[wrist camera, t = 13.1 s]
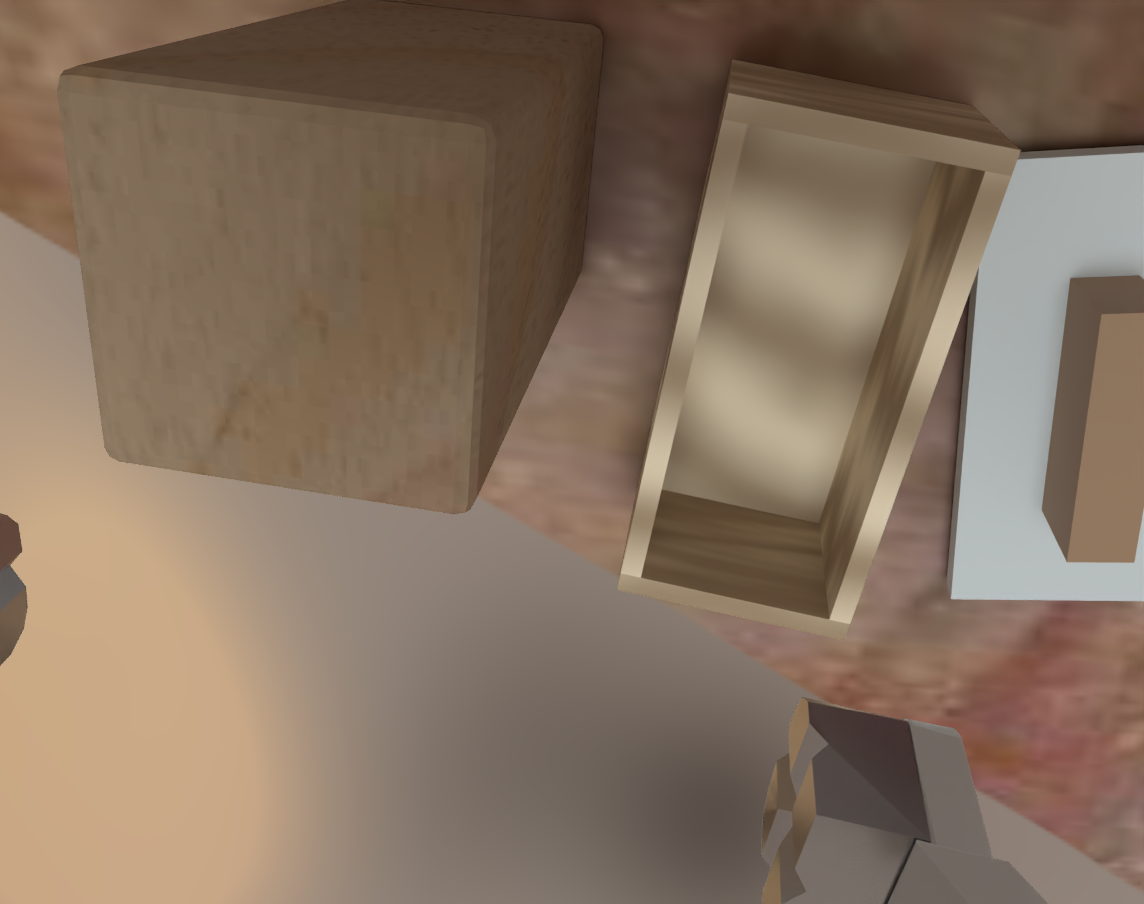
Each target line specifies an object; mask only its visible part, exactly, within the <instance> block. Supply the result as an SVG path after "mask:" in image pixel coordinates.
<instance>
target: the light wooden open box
mask: <svg viewBox="0 0 1144 904" xmlns="http://www.w3.org/2000/svg"><path fill="white" fill-rule="evenodd" d="M1020 151H1021V150H1020V149H1019V148H1018V147H1017V146H1016V145H1015V144H1014V143H1013V142H1011V141H1010V140H1009V139H1008V138H1007V137H1006V136H1005V135H1004V134H1003V133H1002V132H1001V131H999V130H998V129H997V128H996V127H995V126H994V125H993V124H992V123H991V122H990V121H989V120H987V119H986V118H985V117H984V116H983V115H982V114H981V113H980V112H979V111H978V110H977V109H976V108H974V107H973V106H971V105H966V104H961V103H956V102H950V101H945V100H940V99H935V98H930V97H925V96H919V95H914V94H909V93H904V92H899V91H894V90H888V89H883V88H878V87H873V86H868V85H863V84H858V83H852V82H847V81H842V80H837V79H832V78H827V77H821V76H816V75H811V74H806V73H801V72H796V71H791V70H785V69H780V68H775V67H770V66H765V65H760V64H754V63H749V62H744V61H739V60H734V59H732V64H731V68H730V73H729V77H728V82H727V86H726V91H725V95H724V99H723V104H722V108H721V113H720V117H719V122H718V126H717V131H716V135H715V140H714V144H713V149H712V153H711V158H710V162H709V167H708V171H707V176H706V180H705V185H704V189H703V194H702V198H701V203H700V207H699V212H698V216H697V221H696V225H695V229H694V234H693V238H692V243H691V247H690V252H689V256H688V261H687V265H686V270H685V274H684V279H683V283H682V288H681V292H680V297H679V301H678V306H677V310H676V315H675V319H674V324H673V328H672V333H671V337H670V342H669V346H668V351H667V355H666V359H665V364H664V368H663V373H662V377H661V382H660V386H659V391H658V395H657V400H656V404H655V409H654V413H653V418H652V422H651V427H650V431H649V436H648V440H647V445H646V449H645V454H644V458H643V463H642V467H641V472H640V476H639V481H638V485H637V490H636V494H635V500H634V505H633V510H632V515H631V520H630V525H629V530H628V535H627V541H626V546H625V551H624V556H623V561H622V566H621V571H620V576H619V582H618V587H617V590H620V591H625V592H629V593H634V594H638V595H643V596H647V597H652V598H656V599H660V600H665V601H669V602H674V603H678V604H683V605H687V606H692V607H696V608H701V609H705V610H710V611H714V612H719V613H723V614H728V615H732V616H737V617H741V618H746V619H750V620H755V621H759V622H764V623H768V624H772V625H777V626H781V627H786V628H790V629H795V630H799V631H804V632H808V633H813V634H817V635H822V636H826V637H831V638H835V639H840V640H844V639H845V636H846V634H847V631H848V628H849V625H850V623H851V620H852V617H853V614H854V611H855V609H856V606H857V603H858V600H859V598H860V595H861V592H862V589H863V587H864V584H865V581H866V578H867V575H868V573H869V570H870V567H871V564H872V562H873V559H874V556H875V553H876V550H877V548H878V545H879V542H880V539H881V537H882V534H883V531H884V528H885V526H886V523H887V520H888V517H889V514H890V512H891V509H892V506H893V503H894V501H895V498H896V495H897V492H898V490H899V487H900V484H901V481H902V478H903V476H904V473H905V470H906V467H907V465H908V462H909V459H910V456H911V454H912V451H913V448H914V445H915V442H916V440H917V437H918V434H919V431H920V429H921V426H922V423H923V420H924V417H925V415H926V412H927V409H928V406H929V404H930V401H931V398H932V395H933V393H934V390H935V387H936V384H937V381H938V379H939V376H940V373H941V370H942V368H943V365H944V362H945V359H946V357H947V354H948V351H949V348H950V345H951V343H952V340H953V337H954V334H955V332H956V329H957V326H958V323H959V321H960V318H961V315H962V312H963V309H964V307H965V304H966V301H967V298H968V296H969V293H970V290H971V287H972V284H973V282H974V279H975V276H976V273H977V271H978V268H979V265H980V262H981V260H982V257H983V254H984V251H985V248H986V246H987V243H988V240H989V237H990V235H991V232H992V229H993V226H994V224H995V221H996V218H997V215H998V212H999V210H1000V207H1001V204H1002V201H1003V199H1004V196H1005V193H1006V190H1007V188H1008V185H1009V182H1010V179H1011V176H1012V174H1013V171H1014V168H1015V165H1016V163H1017V160H1018V157H1019V154H1020Z"/></svg>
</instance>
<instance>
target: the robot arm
mask: <svg viewBox="0 0 1144 904" xmlns="http://www.w3.org/2000/svg"><path fill="white" fill-rule="evenodd" d="M21 552H22V546H21V539H20V533H19V526H18V524H17V523H16V522H15V521H14V520H12V519H11V518H10V517H8V516H7V515H4V514H0V665H1V664H2V663H3V662H4V661H5V660H6V659H7V658H8V657H9V656H10V655H11V653H12V651H13V649H14V647H15V645H16V643H17V641H18V639H19V637H20V635H21V633H22V631H23V629H24V624H25V619H26V613H27V607H28V606H27V594H26V586H25V585H24V583H23V582H22V581H21V580H20V578H19V577H18V576H17V574H16V573H15V572H14V570H13V569H12V568H11V566H10V565H11V564H12V563H13V561H14V560H15V559H16V558H17V556H18V555H19V554H20V553H21ZM762 857H763V858H764V860H765V861H766V862H767V864H768V865H769V867H770V868H771V870H770V873H769V875H768V878H767V881H766V884H765V886H764V889H763V892H762V904H1048V903H1047V902H1046V901H1045V900H1044V899H1043V898H1042V897H1041V896H1040V895H1039V894H1038V893H1037V891H1036V890H1034V888H1033V887H1032V886H1031V885H1030V884H1029V883H1028V882H1027V881H1026V880H1025V879H1024V878H1023V877H1022V876H1021V875H1020V873H1019V872H1018V871H1017V870H1016V869H1015V868H1014V867H1013V866H1012V865H1011V864H1010V863H1009V862H1006V861H1003V860H999V859H994V858H993V856H992V853H991V848H990V844H989V841H988V837H987V833H986V829H985V825H984V822H983V818H982V814H981V810H980V806H979V803H978V799H977V795H976V791H975V787H974V784H973V780H972V776H971V772H970V768H969V764H968V761H967V757H966V753H965V749H964V745H963V742H962V738H961V736H960V734H959V733H958V732H957V731H956V730H955V729H954V728H949V727H944V726H939V725H934V724H929V723H924V722H920V721H915V720H910V719H905V718H904V719H902V720H901V719H897V718H893V717H888V716H884V715H879V714H875V713H870V712H866V711H862V710H857V709H853V708H848V707H844V706H839V705H835V704H830V703H826V702H821V701H816V700H812V699H807V698H803V697H802V698H801V700H800V702H799V703H798V705H797V707H796V709H795V711H794V714H793V717H792V720H791V722H790V725H789V754H787V755H786V756H784V757H782V758H781V759H779V760H778V761H777V762H776V765H775V769H774V772H773V775H772V778H771V781H770V784H769V789H768V793H767V798H766V803H765V808H764V813H763V825H762Z"/></svg>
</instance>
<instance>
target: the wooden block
mask: <svg viewBox="0 0 1144 904" xmlns="http://www.w3.org/2000/svg"><path fill="white" fill-rule="evenodd" d="M603 43H604V40H603V36H602V32H601V30H600V29H599V28H597V27H595V26H593V25H591V24H583V23H574V22H565V21H556V20H548V19H539V18H530V17H521V16H513V15H504V14H495V13H486V12H478V11H469V10H460V9H451V8H443V7H434V6H425V5H416V4H408V3H399V2H390V1H381V0H346V1H342V2H338V3H334V4H330V5H325V6H321V7H317V8H313V9H309V10H305V11H301V12H297V13H293V14H288V15H284V16H280V17H276V18H272V19H268V20H264V21H260V22H255V23H251V24H247V25H243V26H239V27H235V28H231V29H227V30H223V31H218V32H214V33H210V34H206V35H202V36H198V37H194V38H190V39H185V40H181V41H177V42H173V43H169V44H165V45H161V46H157V47H152V48H148V49H144V50H140V51H136V52H132V53H128V54H124V55H120V56H115V57H111V58H107V59H103V60H99V61H95V62H91V63H87V64H82V65H78V66H76V67H73V68H70V69H67V70H64V71H63V73H62V74H61V75H60V78H59V84H58V89H57V91H58V98H59V106H60V113H61V121H62V129H63V136H64V144H65V151H66V159H67V166H68V174H69V181H70V189H71V197H72V204H73V212H74V219H75V227H76V234H77V242H78V250H79V257H80V265H81V272H82V280H83V287H84V295H85V302H86V310H87V317H88V325H89V332H90V340H91V348H92V355H93V363H94V370H95V378H96V385H97V393H98V400H99V408H100V415H101V423H102V431H103V439H104V446H105V449H106V451H107V453H108V454H109V456H110V457H112V458H114V459H116V460H118V461H120V462H126V463H133V464H139V465H145V466H152V467H158V468H164V469H171V470H177V471H184V472H190V473H196V474H202V475H209V476H215V477H222V478H228V479H234V480H240V481H247V482H253V483H260V484H266V485H272V486H279V487H285V488H291V489H297V490H304V491H310V492H317V493H323V494H329V495H335V496H342V497H348V498H354V499H361V500H367V501H374V502H380V503H386V504H393V505H399V506H405V507H411V508H418V509H424V510H431V511H437V512H443V513H449V514H458V513H464V512H467V511H468V510H470V509H471V507H472V505H473V503H474V502H475V500H476V498H477V496H478V494H479V492H480V490H481V487H482V485H483V483H484V481H485V479H486V477H487V474H488V472H489V470H490V468H491V466H492V464H493V461H494V459H495V457H496V455H497V453H498V451H499V448H500V446H501V444H502V442H503V440H504V438H505V435H506V433H507V431H508V429H509V427H510V425H511V422H512V420H513V418H514V416H515V414H516V411H517V409H518V407H519V405H520V403H521V401H522V398H523V396H524V394H525V392H526V390H527V388H528V385H529V383H530V381H531V379H532V377H533V375H534V372H535V370H536V368H537V366H538V364H539V362H540V359H541V357H542V355H543V353H544V351H545V349H546V346H547V344H548V342H549V340H550V338H551V336H552V333H553V331H554V329H555V327H556V325H557V323H558V320H559V318H560V316H561V314H562V312H563V310H564V307H565V305H566V303H567V301H568V299H569V297H570V294H571V292H572V290H573V288H574V286H575V284H576V281H577V279H578V277H579V275H580V273H581V267H582V257H583V246H584V236H585V226H586V216H587V206H588V195H589V185H590V175H591V165H592V155H593V144H594V134H595V124H596V114H597V104H598V94H599V83H600V73H601V63H602V53H603Z"/></svg>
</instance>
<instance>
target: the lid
mask: <svg viewBox="0 0 1144 904" xmlns="http://www.w3.org/2000/svg"><path fill="white" fill-rule="evenodd" d="M947 587H948V591H949V594H950V598H951V599H988V600H1084V601H1144V145H1137V146H1119V147H1102V148H1085V149H1067V150H1050V151H1032V152H1020V154H1019V157H1018V160H1017V163H1016V165H1015V168H1014V171H1013V174H1012V176H1011V179H1010V182H1009V185H1008V188H1007V190H1006V193H1005V196H1004V199H1003V201H1002V204H1001V207H1000V210H999V212H998V215H997V218H996V221H995V224H994V226H993V229H992V232H991V235H990V237H989V240H988V243H987V246H986V248H985V251H984V254H983V257H982V260H981V262H980V265H979V268H978V271H977V273H976V276H975V279H974V282H973V284H972V287H971V290H970V300H969V313H968V325H967V337H966V350H965V362H964V374H963V387H962V399H961V411H960V424H959V436H958V448H957V461H956V473H955V485H954V498H953V510H952V522H951V535H950V547H949V559H948V571H947Z"/></svg>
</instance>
